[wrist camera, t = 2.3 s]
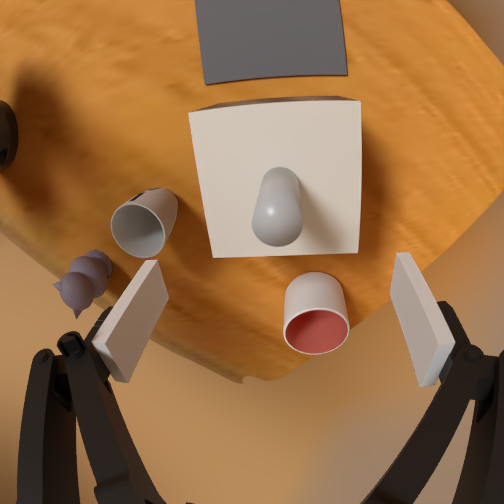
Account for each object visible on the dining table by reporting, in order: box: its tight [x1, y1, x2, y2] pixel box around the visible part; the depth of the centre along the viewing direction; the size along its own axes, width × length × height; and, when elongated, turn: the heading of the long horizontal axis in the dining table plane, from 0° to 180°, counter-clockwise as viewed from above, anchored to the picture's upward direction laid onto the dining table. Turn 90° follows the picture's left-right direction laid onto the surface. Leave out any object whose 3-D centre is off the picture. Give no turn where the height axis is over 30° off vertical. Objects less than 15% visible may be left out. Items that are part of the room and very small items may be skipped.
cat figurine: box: [53, 250, 113, 319], centre depth 50 cm, size 8×8×12 cm
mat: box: [195, 0, 347, 85], centre depth 31 cm, size 19×18×1 cm
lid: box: [188, 100, 362, 258], centre depth 26 cm, size 16×16×11 cm
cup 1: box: [111, 188, 178, 258], centre depth 43 cm, size 8×8×10 cm
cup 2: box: [283, 272, 350, 354], centre depth 49 cm, size 10×10×10 cm
